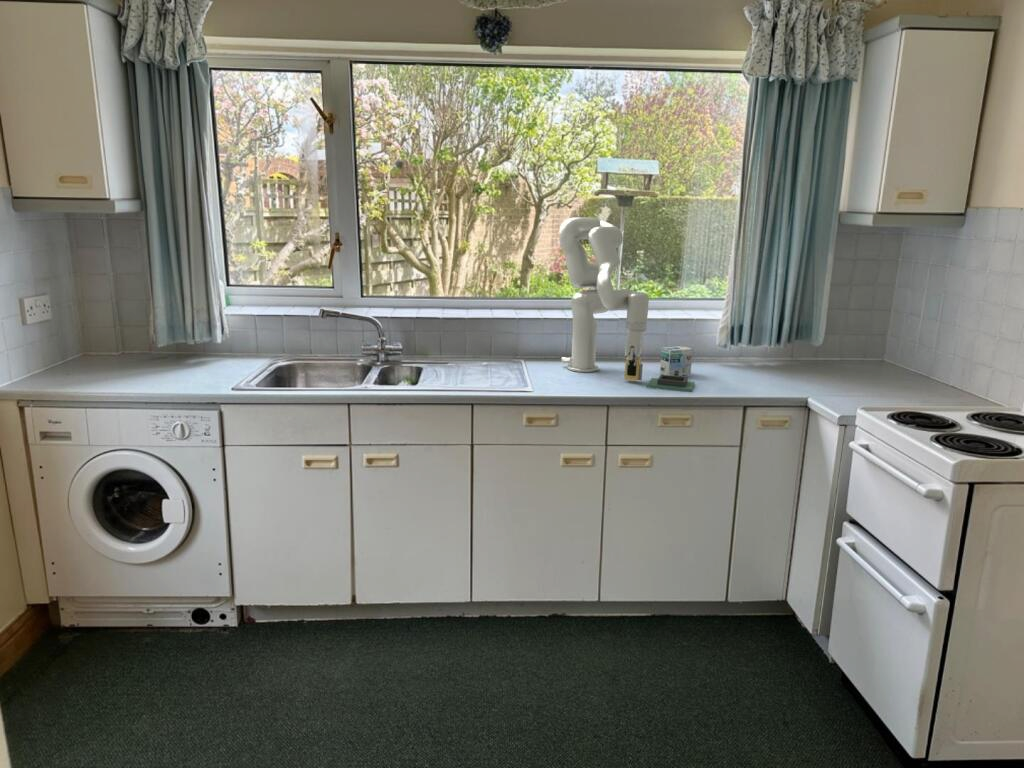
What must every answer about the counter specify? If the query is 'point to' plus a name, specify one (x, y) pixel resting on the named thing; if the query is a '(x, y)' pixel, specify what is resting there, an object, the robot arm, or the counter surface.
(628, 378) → the keyed plug
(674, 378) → the header board
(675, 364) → the light bulb box
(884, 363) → the counter surface
